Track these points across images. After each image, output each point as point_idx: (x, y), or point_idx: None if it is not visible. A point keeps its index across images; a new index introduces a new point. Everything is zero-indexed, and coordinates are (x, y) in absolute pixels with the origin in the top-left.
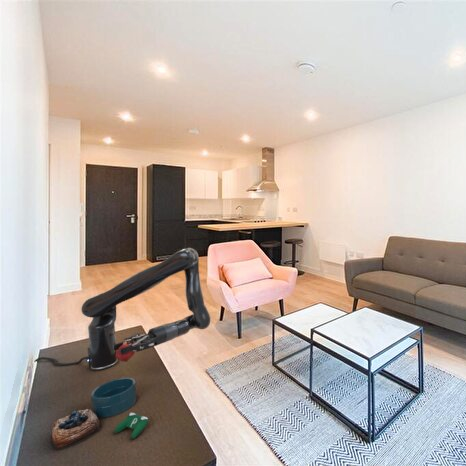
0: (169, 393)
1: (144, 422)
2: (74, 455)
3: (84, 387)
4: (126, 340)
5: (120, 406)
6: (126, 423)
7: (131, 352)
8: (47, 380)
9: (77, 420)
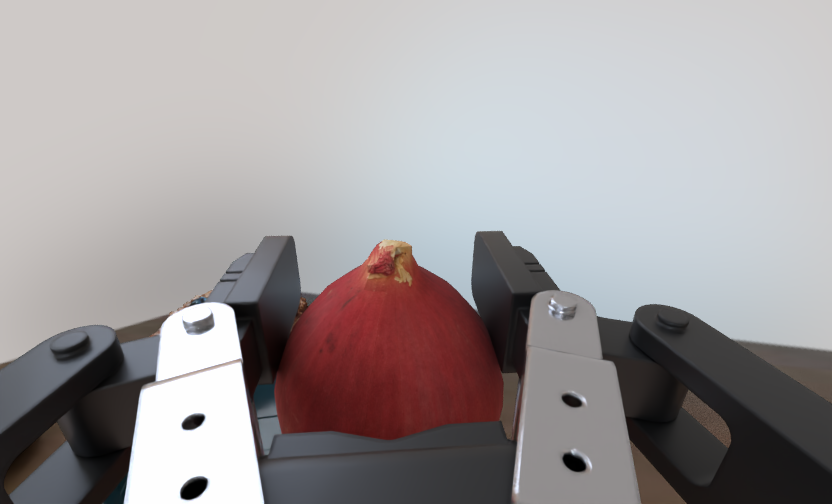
0: None
1: None
2: (121, 339)
3: (637, 448)
4: (549, 305)
5: None
6: None
7: (278, 413)
8: (817, 366)
9: (189, 306)
